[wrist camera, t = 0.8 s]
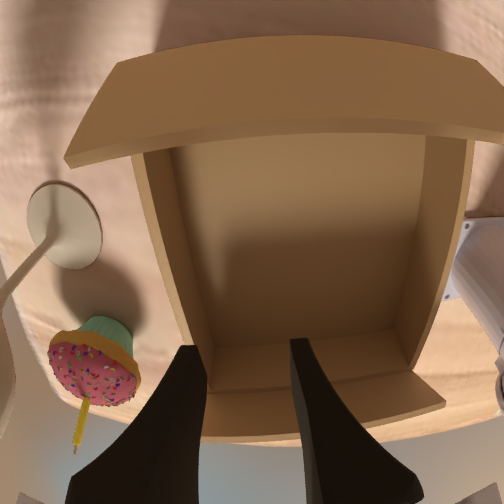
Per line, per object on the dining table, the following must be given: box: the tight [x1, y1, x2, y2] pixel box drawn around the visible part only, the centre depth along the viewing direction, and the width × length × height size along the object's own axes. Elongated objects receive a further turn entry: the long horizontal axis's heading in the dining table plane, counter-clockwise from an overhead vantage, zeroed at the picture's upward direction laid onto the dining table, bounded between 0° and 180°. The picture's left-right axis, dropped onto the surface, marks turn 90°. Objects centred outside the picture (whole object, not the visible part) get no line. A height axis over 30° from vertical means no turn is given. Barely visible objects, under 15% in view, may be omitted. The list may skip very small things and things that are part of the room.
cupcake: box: [48, 316, 141, 454], centre depth 20 cm, size 9×8×12 cm
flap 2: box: [200, 370, 446, 443], centre depth 18 cm, size 17×6×1 cm
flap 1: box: [63, 35, 504, 169], centre depth 8 cm, size 17×6×1 cm
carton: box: [131, 133, 475, 394], centre depth 18 cm, size 17×22×5 cm
